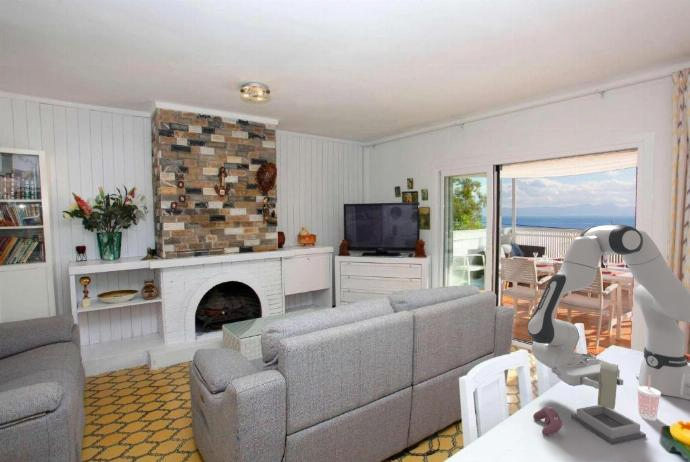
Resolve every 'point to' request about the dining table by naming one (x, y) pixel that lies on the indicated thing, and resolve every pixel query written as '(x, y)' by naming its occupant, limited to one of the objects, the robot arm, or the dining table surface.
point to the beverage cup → (648, 401)
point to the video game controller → (549, 420)
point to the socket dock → (608, 424)
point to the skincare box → (608, 385)
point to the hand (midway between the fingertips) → (610, 384)
